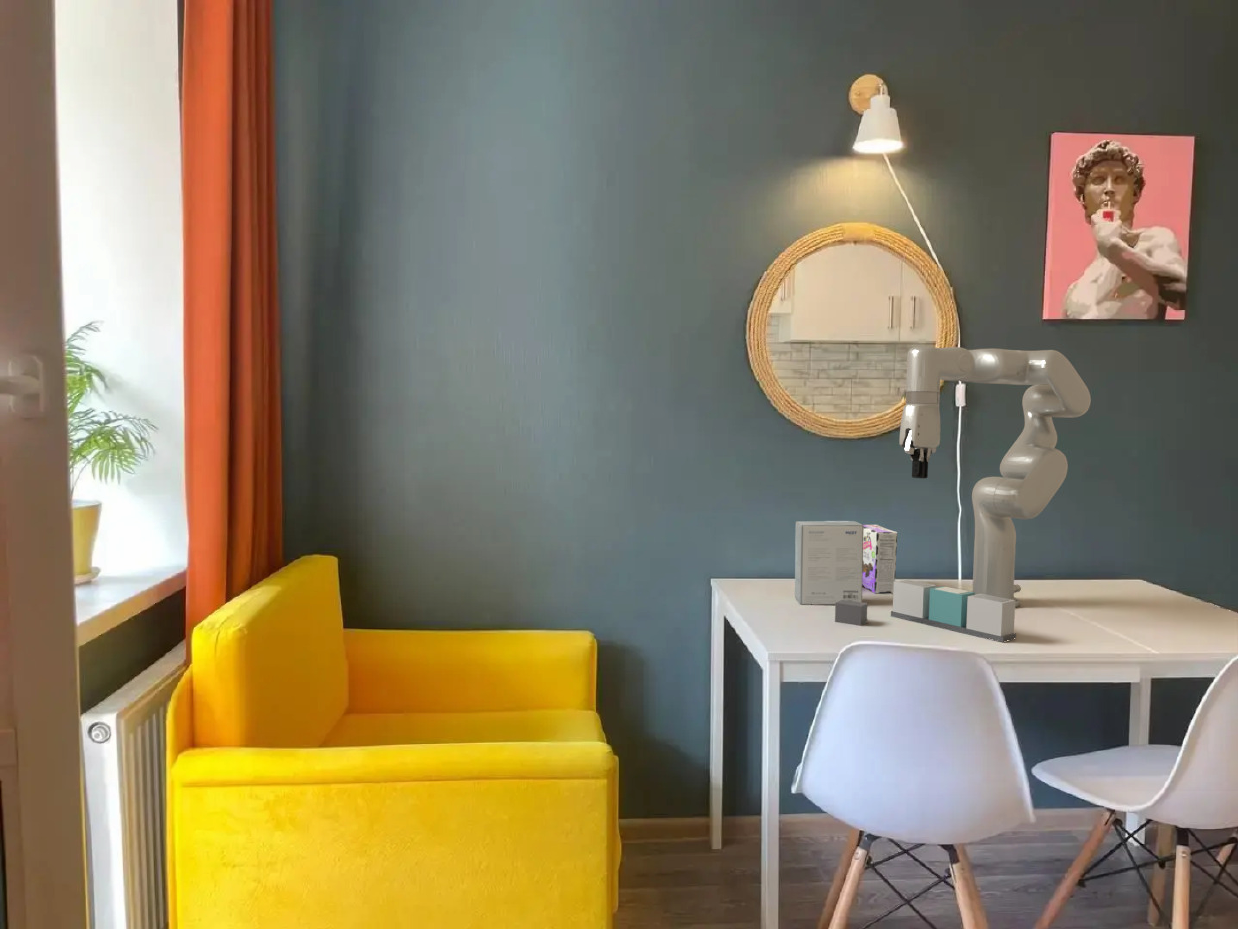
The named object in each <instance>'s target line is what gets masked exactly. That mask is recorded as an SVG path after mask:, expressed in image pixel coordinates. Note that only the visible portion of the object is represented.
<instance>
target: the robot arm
mask: <svg viewBox="0 0 1238 929" xmlns="http://www.w3.org/2000/svg"><path fill="white" fill-rule="evenodd" d="M906 355H907V356H906V359H907V360H906V382H905V384H906V385H905V386H906V387H905V405H903V409H902V413H901V419H900V427H899V441H898V442H899V446H900V447H901V448H904V453H906V454H908V455H909V456H910V461H912V465H911V467H912V468H911V478H913V479H928V476H929V475H928V474H929V473H928V472H929V462H930V459H931V455H932V454H935V453H936V452H937V448H938V447H939V446H940V443H941V413H940V398H941V397H940V394H941V392H940V391H941V389H940V388H941V381H951V382H968V383H975V384H994V385H995V384H996V385H997V384H998V385H1012V386H1013V385H1016V386H1030V387H1028V388H1027V389H1026V390H1025V392H1024V394H1023V396H1022V400H1021V402H1022V403H1021V404H1022V409H1023V417H1024V426H1023V430H1022V432H1021V433H1020V434H1019V435H1018V437H1017V439H1016V440H1015V441H1014V443H1013V444H1012V445H1011V447H1009V449H1008V451H1007V452H1006V453H1005V455H1004V456H1003V458H1002V460H1001V462H1000V464H999V473H1000V475H1001V476H1002V477H1001V476H987V477H983V478H981V479H980V480H978V481H977V482H976V483H975V484H974V486H973V488H972V494H971V502H972V508H973V515H974V543H973V544H974V546H973V567H972V568H973V569H972V570H973V573H972V592H975V595H977V594H985V595H990V596H995V597H1000V598H1005V599H1011V600H1015V608H1017V607H1019V606H1020V605H1021V600H1020V599H1019V598H1017V597H1015V596H1014V595H1015V593H1020V592H1021V590H1022V586H1021V585H1019V584H1015V568H1016V567H1015V565H1016V545H1017V544H1016V543H1017V532H1016V528H1015V524H1014V522H1013V520H1012V519H1017V520H1018V519H1019V520H1031V519H1034V518H1037V517H1038V516H1039V515H1040V514H1041V513H1042V512H1043V510H1044V509H1045V508H1046V507H1047V505H1048V504H1049V503H1050V501H1051V500H1052V498H1053V497H1054V496H1055V495H1056V493H1057V492H1058V491H1059V489H1060V487H1061V486H1062V484H1064V481H1065V480H1066V477H1067V473H1068V469H1069V467H1068V460H1067V457H1066V455H1065V454H1064V453H1063V451H1061V450H1060V449H1057V448H1055V447H1056V445H1057V443H1058V433H1057V430H1056V428H1055V425H1054V421H1053V418H1070V419H1071V418H1079V417H1081V416H1083V415H1084V414H1086V413H1087V412H1088V410H1089V409H1090V406H1091V403H1092V402H1091V401H1092V400H1091V399H1092V397H1091V393H1090V390H1089V389H1088V386H1087V385H1086V384H1085V382H1084V380H1083V379H1082V377H1081V376H1080V375H1079V372H1077V370H1076V368H1075V367H1074V366H1073V364H1072V362H1070V360H1068V358H1067V357H1066V356H1065V355H1064V354H1063V353H1062V352H1059V351H1058V350H1055V349H1042V350H1017V349H1015V350H1014V349H1004V348H977V349H967V348H964V347H960V346H952V347H951V346H950V347H949V346H948V347H946V346H945V347H935V346H915V347H911V348H910V349H909V350H908V351H907V354H906Z"/></svg>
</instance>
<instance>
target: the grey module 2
mask: <svg viewBox="0 0 1238 929" xmlns="http://www.w3.org/2000/svg"><path fill="white" fill-rule="evenodd" d="M1015 615H1016V607H1015V600H1011V599H1005V598H1000V597H995V596H990V595H985V594H977V595H972V596H968V602H967V626H966V628H967V629H971V630H976V631H980V632H984V633H989V634H993V635H997V636H1004V635H1008V634H1012V633H1015V619H1016V618H1015V617H1016V616H1015Z"/></svg>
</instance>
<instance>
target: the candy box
mask: <svg viewBox="0 0 1238 929" xmlns="http://www.w3.org/2000/svg"><path fill="white" fill-rule="evenodd" d="M862 525H863V526H864V531H863V575H862V587H863V586H864V587H865V589H866V590H868V589H869V590H868V591H870V590H871V591H872V592H871V591H870V592H871V593H873V592H874V593H873V594H885V593H893V590H894V582H895V581H896V568H897V552H898V551H897V546H898V531H895V530H892V529H888V528H885V527H884V526H881V525H879V524H862ZM864 587H863V588H864Z"/></svg>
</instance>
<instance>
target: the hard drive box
mask: <svg viewBox="0 0 1238 929" xmlns="http://www.w3.org/2000/svg"><path fill="white" fill-rule="evenodd" d="M863 525H864V524H862V523H861V522H858V521H856V520H824V521H823V520H821V521H820V520H815V521H814V520H813V521H812V520H809V521H807V520H806V521H804V520H803V521H801V520H799V521H795V542H794V543H795V545H794V546H795V551H794V552H795V553H794V554H795V555H794V556H795V559H794V561H795V564H794V566H795V567H794V571H795V572H794V599H795V598H796V599H795V600H796V601H797V602H798V603H799V605H811V604H812V606H813V605H815V606H818V605H835V604H836V602H838V601H840V600H847V601H854V602H862V603H863V586H862V575H863V531H864V526H863Z"/></svg>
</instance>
